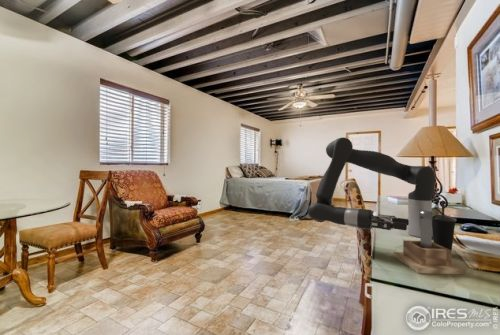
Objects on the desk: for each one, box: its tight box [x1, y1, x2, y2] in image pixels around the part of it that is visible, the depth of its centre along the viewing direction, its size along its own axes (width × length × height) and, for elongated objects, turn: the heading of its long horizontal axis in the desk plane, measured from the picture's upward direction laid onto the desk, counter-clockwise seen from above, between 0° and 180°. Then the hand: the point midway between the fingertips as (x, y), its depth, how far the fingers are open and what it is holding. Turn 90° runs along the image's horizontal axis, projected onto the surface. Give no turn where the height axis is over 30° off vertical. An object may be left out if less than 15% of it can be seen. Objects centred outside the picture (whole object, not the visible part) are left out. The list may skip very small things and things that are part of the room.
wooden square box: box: [392, 240, 466, 275], centre depth 80 cm, size 14×14×6 cm
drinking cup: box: [432, 200, 457, 253], centre depth 89 cm, size 8×8×20 cm
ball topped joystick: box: [419, 210, 433, 249], centre depth 80 cm, size 4×3×17 cm
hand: (407, 224), depth 83 cm, fingers open, 8 cm apart
